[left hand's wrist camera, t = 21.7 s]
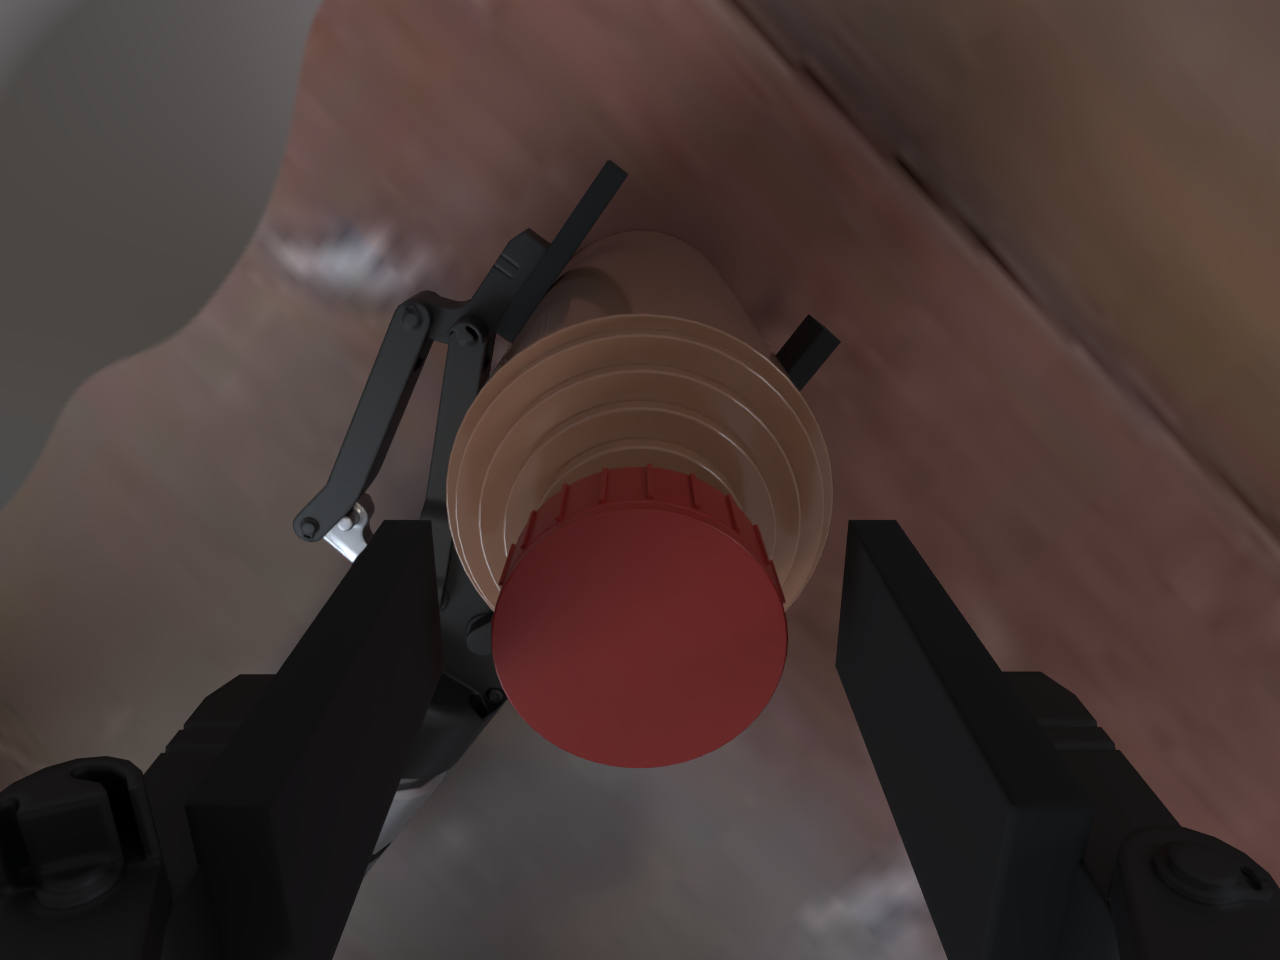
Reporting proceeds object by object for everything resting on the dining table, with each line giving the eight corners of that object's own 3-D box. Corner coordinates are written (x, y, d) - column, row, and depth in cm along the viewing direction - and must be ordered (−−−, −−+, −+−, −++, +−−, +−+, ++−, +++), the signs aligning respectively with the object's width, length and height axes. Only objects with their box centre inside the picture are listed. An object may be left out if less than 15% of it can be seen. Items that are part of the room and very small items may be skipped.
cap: (826, 599, 15) (851, 660, 13) (627, 744, 16) (625, 817, 14) (654, 406, 14) (656, 443, 12) (450, 576, 15) (424, 634, 13)
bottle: (556, 215, 35) (394, 331, 12) (752, 247, 35) (962, 418, 12) (533, 406, 37) (368, 800, 15) (716, 434, 38) (832, 857, 15)
